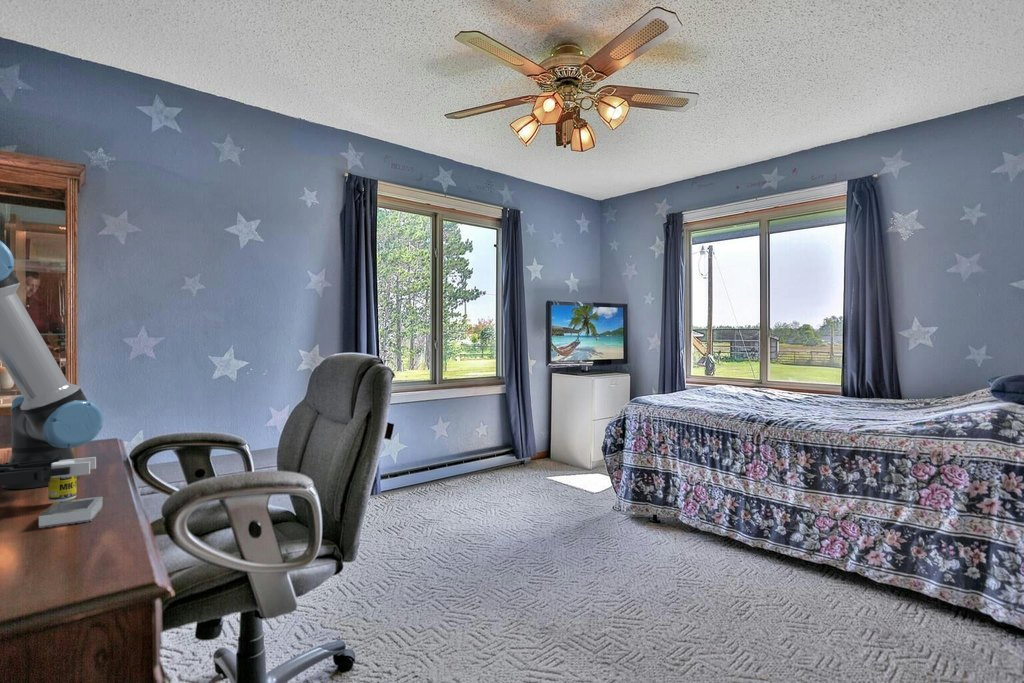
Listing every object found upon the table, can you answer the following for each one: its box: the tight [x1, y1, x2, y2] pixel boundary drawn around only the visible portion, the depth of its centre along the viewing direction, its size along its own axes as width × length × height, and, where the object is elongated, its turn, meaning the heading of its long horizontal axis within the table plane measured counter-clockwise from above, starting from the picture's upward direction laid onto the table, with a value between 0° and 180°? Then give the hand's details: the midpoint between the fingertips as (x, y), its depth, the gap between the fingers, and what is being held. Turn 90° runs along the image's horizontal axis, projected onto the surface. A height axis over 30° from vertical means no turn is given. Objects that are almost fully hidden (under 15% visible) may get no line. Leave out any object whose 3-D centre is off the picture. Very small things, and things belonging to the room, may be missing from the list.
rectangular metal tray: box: [38, 496, 104, 529], centre depth 105 cm, size 10×8×2 cm
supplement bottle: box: [48, 460, 78, 503], centre depth 114 cm, size 5×5×8 cm
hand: (92, 465), depth 116 cm, fingers closed on supplement bottle, 5 cm apart
